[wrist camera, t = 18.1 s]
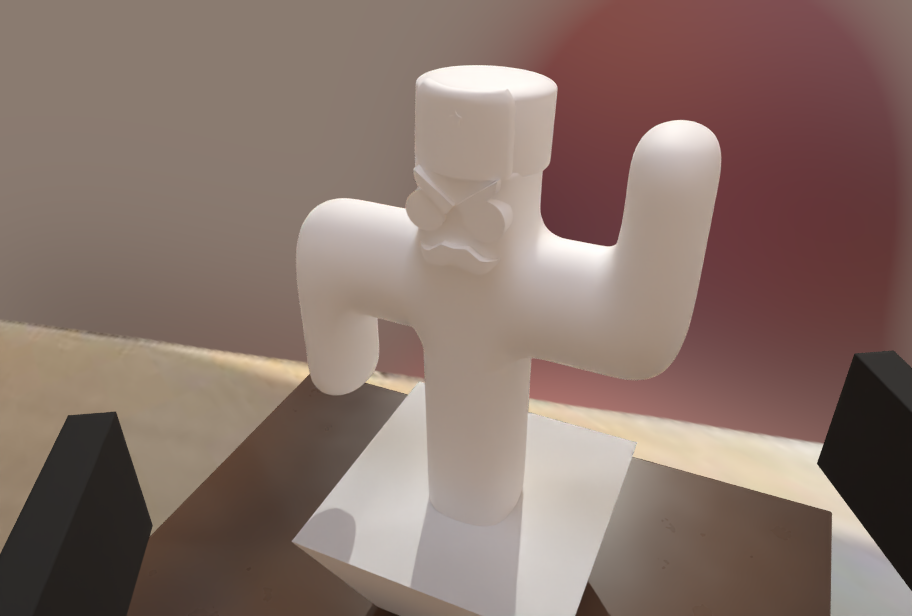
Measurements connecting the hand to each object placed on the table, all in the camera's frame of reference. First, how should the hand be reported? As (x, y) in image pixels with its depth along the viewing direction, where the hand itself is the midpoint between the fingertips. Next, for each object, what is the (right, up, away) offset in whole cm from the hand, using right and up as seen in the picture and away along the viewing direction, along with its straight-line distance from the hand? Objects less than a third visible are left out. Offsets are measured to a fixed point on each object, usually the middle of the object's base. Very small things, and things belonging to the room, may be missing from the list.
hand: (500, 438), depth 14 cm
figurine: (0, -6, +9) cm, 11 cm away
